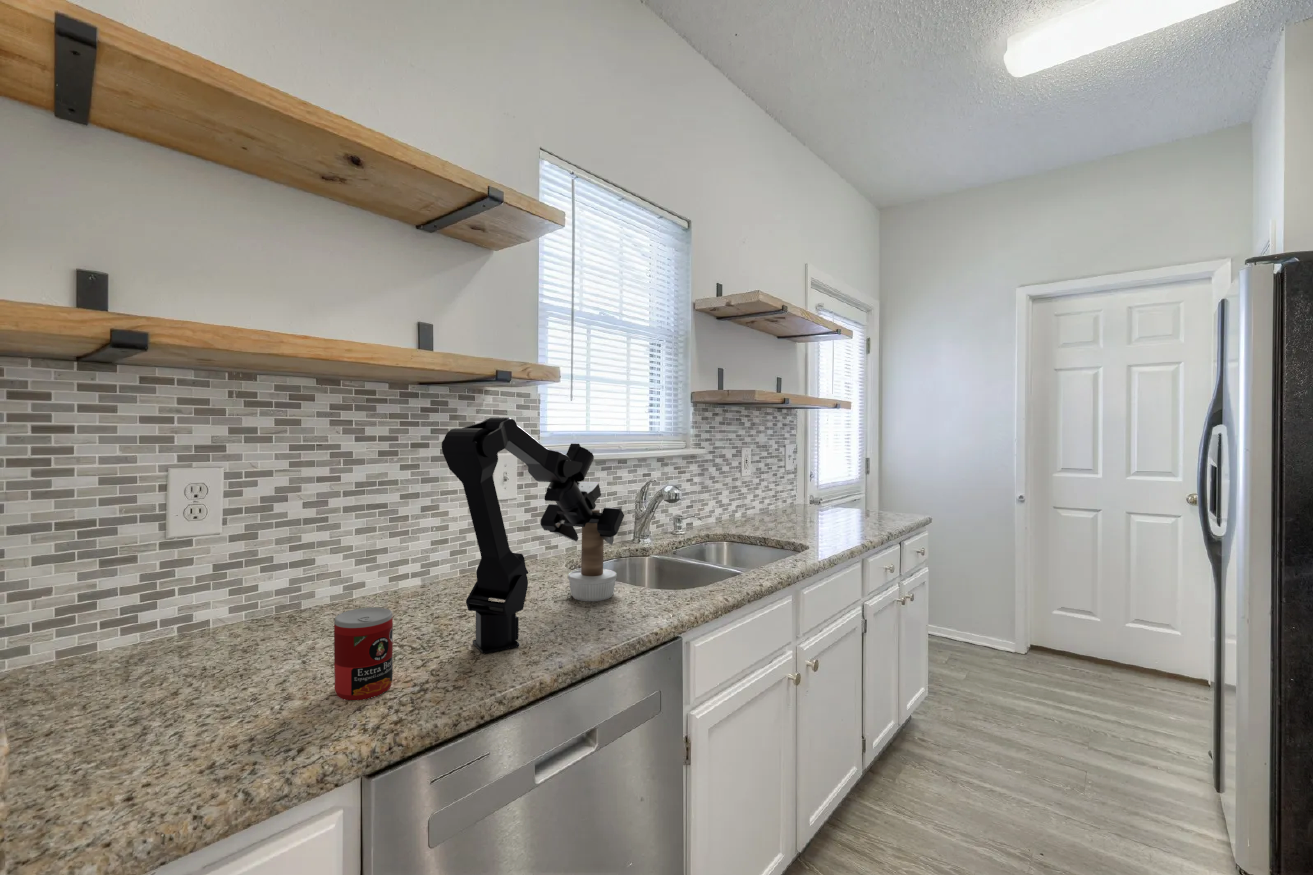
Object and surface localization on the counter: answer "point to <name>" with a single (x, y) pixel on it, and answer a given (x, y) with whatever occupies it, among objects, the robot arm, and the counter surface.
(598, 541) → the pepper mill
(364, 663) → the canned food
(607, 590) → the ramekin
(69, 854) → the counter surface
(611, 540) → the robot arm
